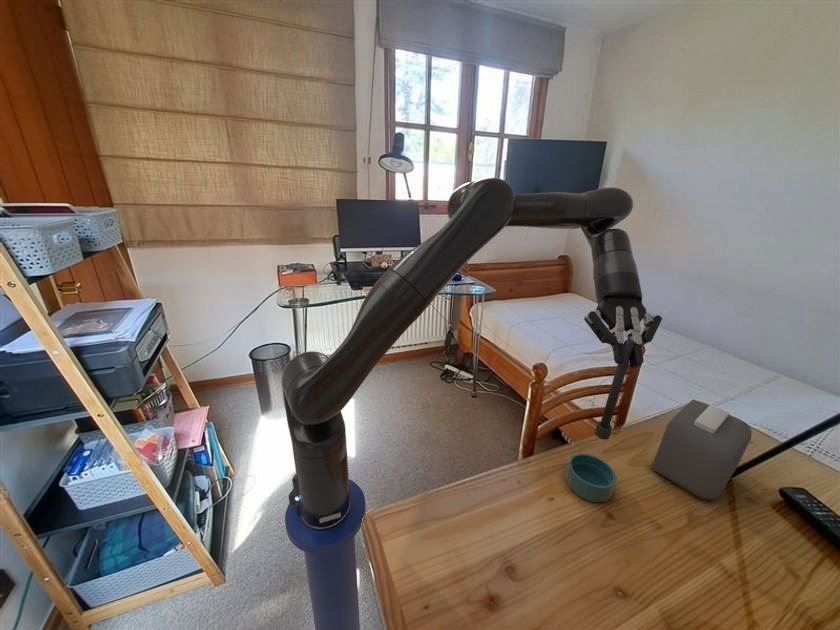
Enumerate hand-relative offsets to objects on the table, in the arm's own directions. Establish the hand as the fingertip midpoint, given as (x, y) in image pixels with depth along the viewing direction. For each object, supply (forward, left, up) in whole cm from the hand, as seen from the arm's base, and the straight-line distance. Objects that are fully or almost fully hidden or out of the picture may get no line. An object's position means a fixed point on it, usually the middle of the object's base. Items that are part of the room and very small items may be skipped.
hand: (629, 366), depth 59 cm
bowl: (0, +2, -31) cm, 31 cm away
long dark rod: (0, +2, -17) cm, 17 cm away
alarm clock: (+23, +12, -31) cm, 41 cm away
